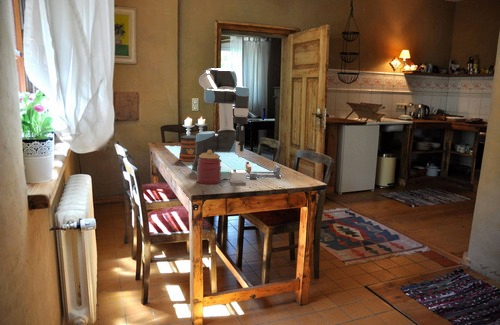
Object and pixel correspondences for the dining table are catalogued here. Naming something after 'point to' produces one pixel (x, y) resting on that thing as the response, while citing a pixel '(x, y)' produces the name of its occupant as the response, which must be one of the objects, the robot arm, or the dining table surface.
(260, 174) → the coupler rail
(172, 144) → the dining table surface
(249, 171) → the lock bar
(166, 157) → the dining table surface
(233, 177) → the lock block
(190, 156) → the beer stein
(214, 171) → the canister
